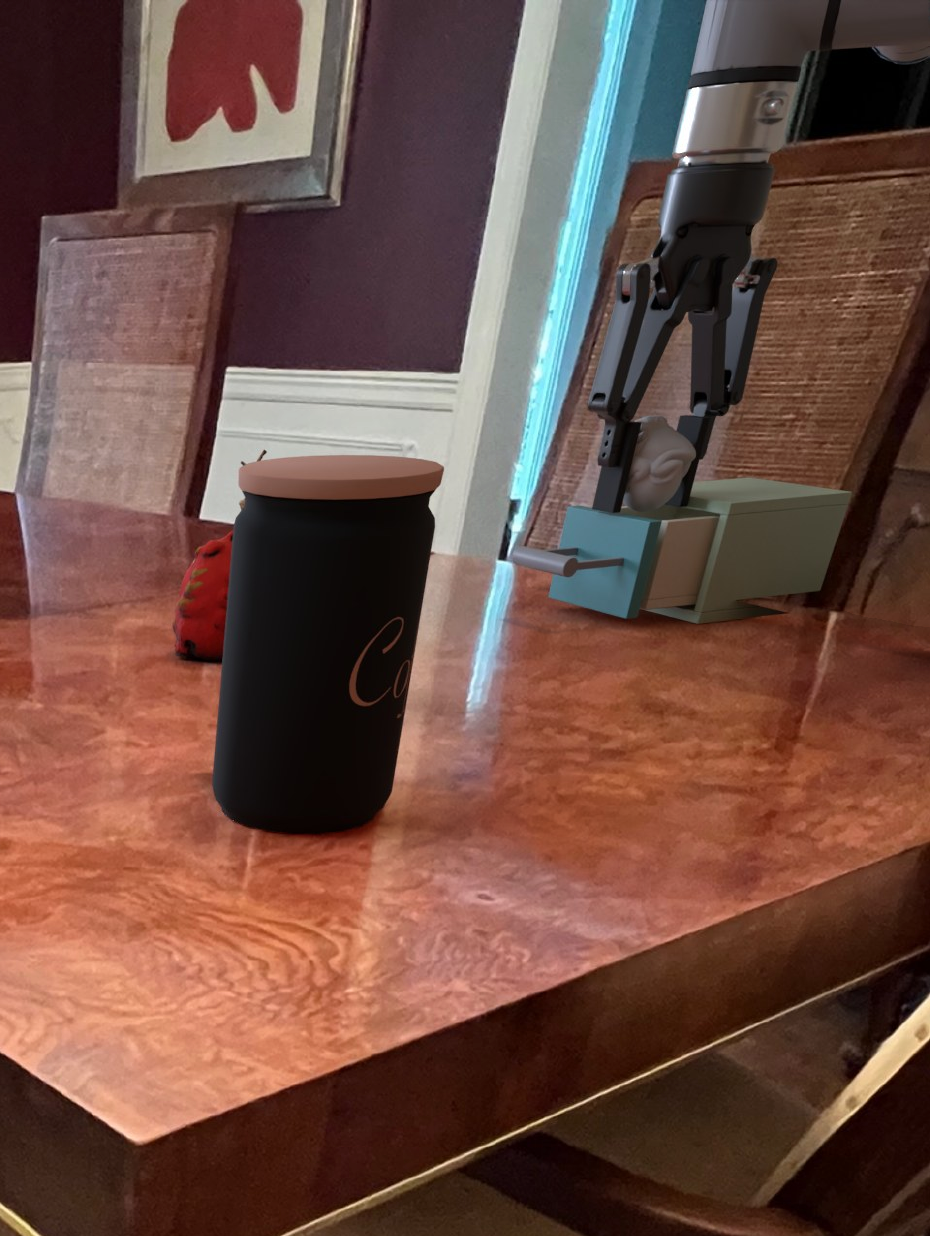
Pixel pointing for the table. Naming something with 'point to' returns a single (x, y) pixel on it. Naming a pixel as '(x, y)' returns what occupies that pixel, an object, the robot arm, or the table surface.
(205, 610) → the red clay folk toy
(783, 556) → the cabinet
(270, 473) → the coffee jar
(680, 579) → the drawer
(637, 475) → the frog figurine
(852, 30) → the robot arm
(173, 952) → the table surface
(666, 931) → the table surface
